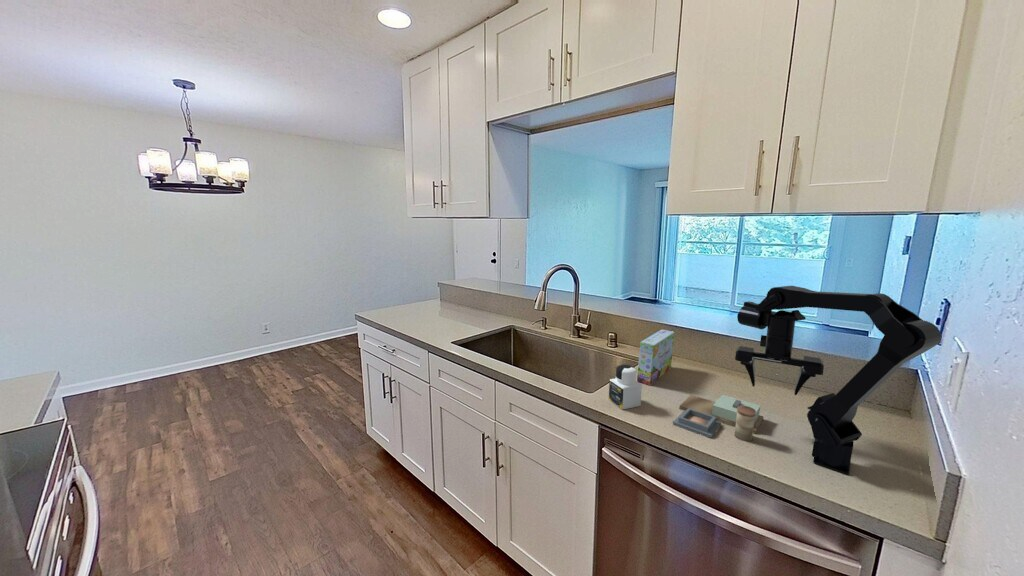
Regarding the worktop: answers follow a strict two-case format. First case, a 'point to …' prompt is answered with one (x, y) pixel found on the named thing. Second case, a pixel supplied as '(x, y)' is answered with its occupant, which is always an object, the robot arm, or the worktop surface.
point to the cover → (731, 408)
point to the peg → (744, 423)
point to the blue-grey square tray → (697, 422)
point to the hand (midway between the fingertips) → (773, 390)
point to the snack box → (655, 356)
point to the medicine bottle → (625, 388)
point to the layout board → (707, 408)
